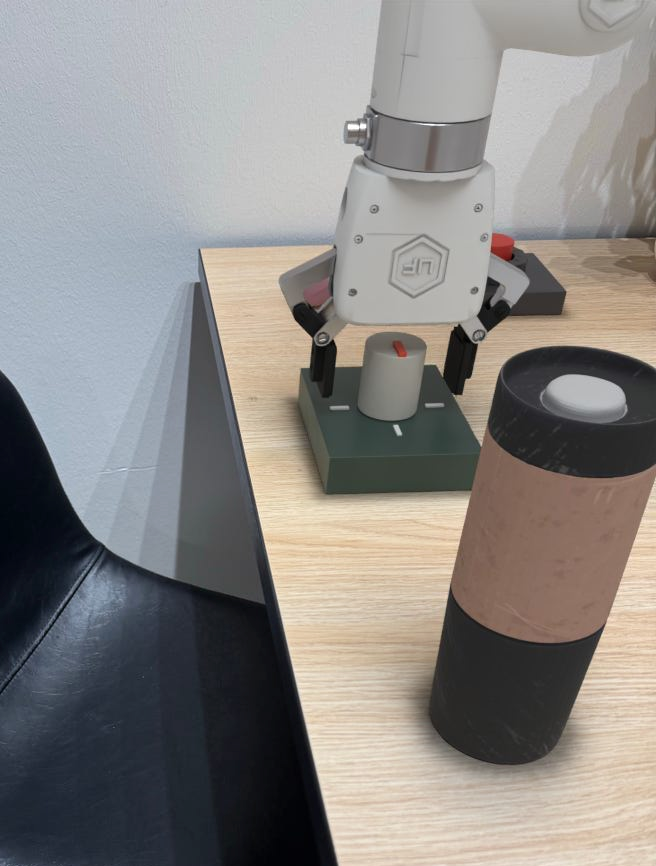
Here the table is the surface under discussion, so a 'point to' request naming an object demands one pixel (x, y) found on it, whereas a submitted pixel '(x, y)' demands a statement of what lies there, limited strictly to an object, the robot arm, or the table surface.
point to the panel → (388, 439)
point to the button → (502, 246)
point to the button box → (532, 287)
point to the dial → (391, 375)
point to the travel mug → (543, 546)
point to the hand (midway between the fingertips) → (387, 388)
